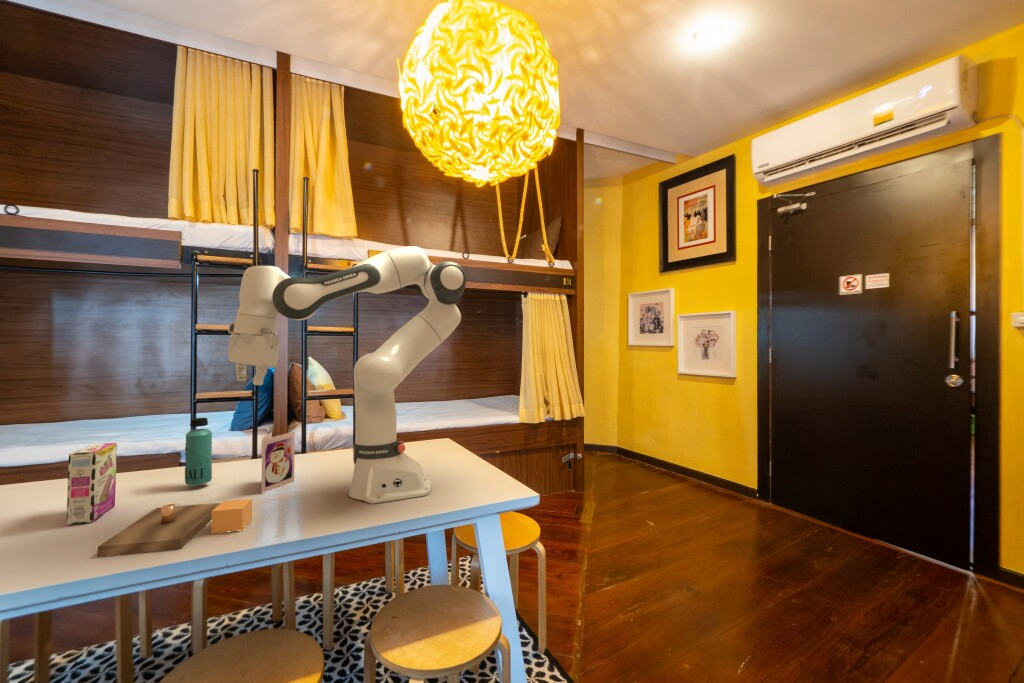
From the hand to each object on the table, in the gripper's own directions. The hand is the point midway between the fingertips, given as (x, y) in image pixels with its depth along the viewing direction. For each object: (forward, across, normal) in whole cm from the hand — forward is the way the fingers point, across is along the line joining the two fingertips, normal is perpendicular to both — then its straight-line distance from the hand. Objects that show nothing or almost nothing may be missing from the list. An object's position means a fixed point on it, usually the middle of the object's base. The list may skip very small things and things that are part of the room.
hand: (249, 383), depth 105 cm
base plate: (+33, 0, +13) cm, 35 cm away
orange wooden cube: (+32, -9, +4) cm, 33 cm away
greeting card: (+31, +12, -14) cm, 37 cm away
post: (+31, 0, +13) cm, 34 cm away
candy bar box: (+35, +24, +21) cm, 48 cm away
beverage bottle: (+33, +28, -1) cm, 44 cm away
